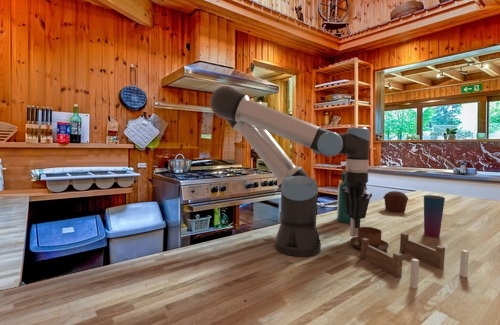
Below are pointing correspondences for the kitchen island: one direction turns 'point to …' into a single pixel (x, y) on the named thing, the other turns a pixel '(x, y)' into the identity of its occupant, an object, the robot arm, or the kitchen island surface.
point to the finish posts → (416, 268)
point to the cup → (433, 215)
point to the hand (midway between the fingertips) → (354, 235)
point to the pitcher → (342, 201)
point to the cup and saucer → (370, 238)
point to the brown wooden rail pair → (406, 246)
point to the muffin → (395, 201)
